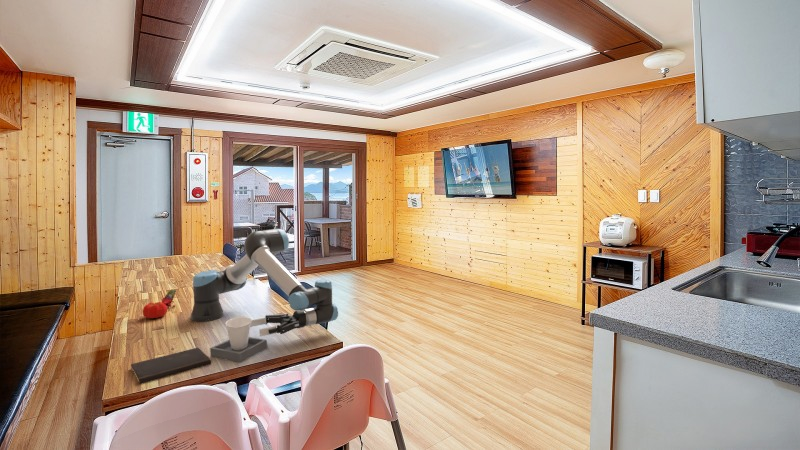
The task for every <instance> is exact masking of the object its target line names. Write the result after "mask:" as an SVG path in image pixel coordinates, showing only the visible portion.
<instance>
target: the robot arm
mask: <svg viewBox="0 0 800 450" xmlns="http://www.w3.org/2000/svg"><path fill="white" fill-rule="evenodd" d="M289 241H290V240H289V236H288V233H287V232H286V231H285V230H283V229H282V228H273V229H266V230H257V231H253V232H251V233H250V234H249V235H247V237H246V238H245V240H244V245H243V249H244V252H245V254H244V256H243V257H241V258H240V259H239V260H238V261H237V262H236V263H234V264H231V265H229V266H228V267H226V268H225V269H224V270H222V271H218V270H215V269H211V270H205V271H201V272H198V273H196V274H194V276H193V279H192V289H193V290H192V291H193V307H192V311H191V313H190V320H191V321H193V322H208V321H215V320H217V319H220V318H222V317H223V316H224V309H223V307H222V305H221V302H220V295H221V294H226V293H230V292H234V291H238V290H240V289H243V288H244V287H245V286H246V284H247V282H248V281H247V280H248V275H250V274H251V273H252V272H253V271H254V270H256V268H257V267H260V268H261V269H262V270H263V272H265V274H266V275H267V276H269V278H271V280H272V281H273V282H274V283H275V284H276V285H277V287H279V288H280V290H282V292H284V293H285V294H286V295H287V297H288V304H289V307H290V309H291V310H292V311H294V312H293V314H292V315H289V313H284V314H269V315H267V314H266V315H265V317H261V318H255V319H251V320H252V322H251V325H250V328H253V327H258V326H263V325H268V324H276V325H274V326H269V327H264V328H259V337H265V336H270V335H273V334H280V335H284V334H286V333H287V332H291V331H292V330H294V329H301V328H304V327H312V326H314V325H315V326H316V325H320V324H324V323H330V322H333V321H336V320H337V319H338V316H339V310H338V306H337V305H336V304H335V303H333V284H332V283H333V282H332V281H331V280H330V279H327V278H326V279H324V278H321V279H317V280H315V282H314V287H309V288H307V287H305V286H303V284H302V283H301V282H300V281H299V280H298V279H297V278H296V276H294V275H293V274H292V273H291V272H290V271H289V270H288V268H287V267H286V266H285V265H283V263H282V262H281V261H280V260H278V258H277V257H276V255H277V254H278V253H283V252H285V251H287V250H288V249H289V245H290V242H289ZM311 306H315V307H311ZM277 324H278V325H277Z"/></svg>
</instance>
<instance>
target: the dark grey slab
mask: <svg viewBox="0 0 800 450" xmlns="http://www.w3.org/2000/svg"><path fill="white" fill-rule="evenodd" d="M211 364H212V360H211V357H209V356H208V355H207V354H206V353H204V351H203V350H201V348H200V347H195V348H194V347H193V348H190V349H186V350H183V351H178V352H175V353H171V354H170V353H169V354H166V355H162V356H159V357H155V358H151V359H147V360H143V361H138V362H135V363H131V364H130V367H131V370H132V372H133V371H134V372H133V373H135V374H134V375H136V376H135V377H137V378H136V379H137V382H138V384H139V385H141V384H142V383H143V384H146V383H149V382H153V381H157V380H159V379H164V378H167V377H171V376H174V375H177V374H178V375H179V374H182V373H184V372H188V371H191V370H195V369H198V368H202V367H205V366H210V365H211Z"/></svg>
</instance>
